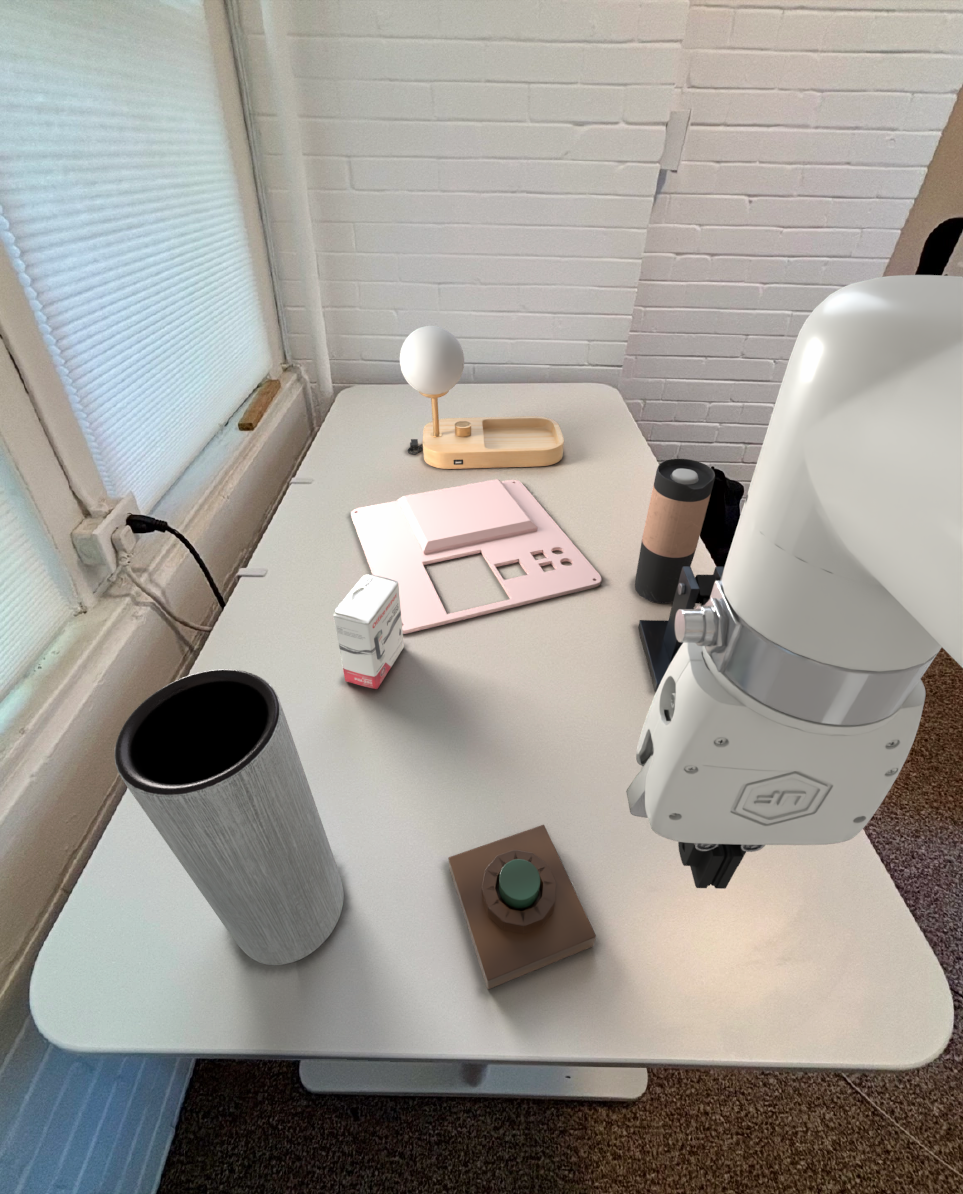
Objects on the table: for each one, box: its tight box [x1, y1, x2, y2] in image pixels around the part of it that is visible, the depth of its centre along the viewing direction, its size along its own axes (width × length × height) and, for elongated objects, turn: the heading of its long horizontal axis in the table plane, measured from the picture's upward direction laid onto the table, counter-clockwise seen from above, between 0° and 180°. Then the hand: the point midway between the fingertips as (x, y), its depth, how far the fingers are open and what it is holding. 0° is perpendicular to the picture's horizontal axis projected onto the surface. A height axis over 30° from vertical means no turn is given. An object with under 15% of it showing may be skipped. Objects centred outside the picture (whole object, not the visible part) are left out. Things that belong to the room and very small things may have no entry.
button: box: [499, 859, 540, 909], centre depth 52 cm, size 4×4×2 cm
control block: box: [448, 824, 597, 990], centre depth 54 cm, size 11×10×4 cm
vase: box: [113, 668, 345, 966], centre depth 46 cm, size 10×10×27 cm
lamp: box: [399, 325, 565, 470], centre depth 119 cm, size 33×17×25 cm, turn 93°
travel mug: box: [634, 458, 716, 604], centre depth 84 cm, size 8×8×20 cm
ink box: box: [333, 573, 405, 690], centre depth 75 cm, size 9×5×12 cm, turn 161°
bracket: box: [637, 566, 725, 693], centre depth 75 cm, size 12×10×14 cm
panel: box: [350, 478, 602, 635], centre depth 99 cm, size 35×33×2 cm
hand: (702, 862), depth 35 cm, fingers closed
